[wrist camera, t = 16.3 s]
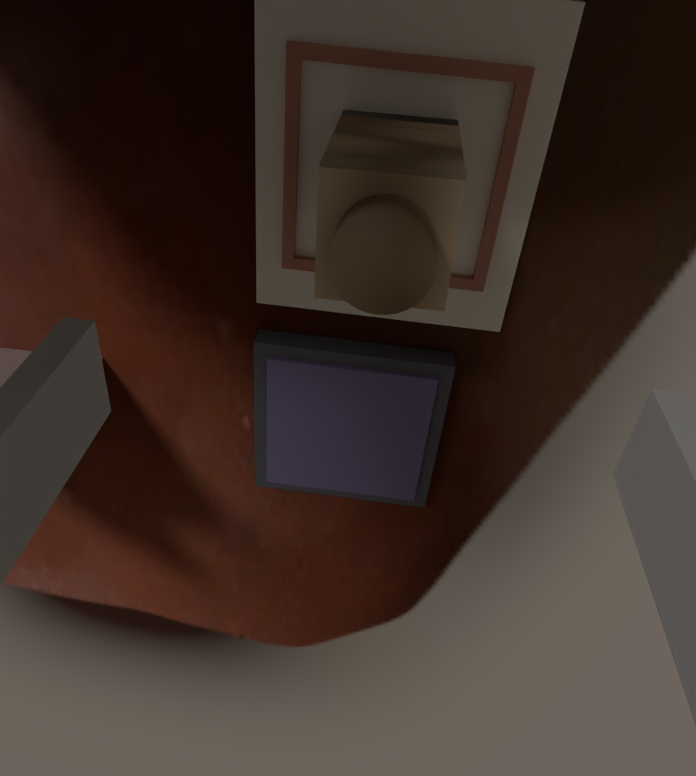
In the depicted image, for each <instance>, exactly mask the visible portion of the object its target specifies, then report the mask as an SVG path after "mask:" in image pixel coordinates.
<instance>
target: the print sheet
mask: <svg viewBox="0 0 696 776" xmlns="http://www.w3.org/2000/svg"><path fill="white" fill-rule="evenodd" d="M585 3H586V2H584V1H579V0H254V12H255V161H256V303H263V304H271V305H279V306H288V307H296V308H304V309H313V310H321V311H329V312H338V313H346V314H354V315H363V316H371V317H379V318H387V319H396V320H404V321H412V322H421V323H429V324H437V325H446V326H454V327H462V328H470V329H479V330H487V331H495V332H500V330H501V326H502V322H503V318H504V314H505V310H506V306H507V303H508V299H509V295H510V291H511V287H512V283H513V280H514V276H515V272H516V268H517V264H518V260H519V256H520V253H521V249H522V245H523V241H524V237H525V233H526V230H527V226H528V222H529V218H530V214H531V210H532V206H533V203H534V199H535V195H536V191H537V187H538V183H539V180H540V176H541V172H542V168H543V164H544V160H545V156H546V153H547V149H548V145H549V141H550V137H551V133H552V130H553V126H554V122H555V118H556V114H557V110H558V107H559V103H560V99H561V95H562V91H563V87H564V83H565V80H566V76H567V72H568V68H569V64H570V60H571V57H572V53H573V49H574V45H575V41H576V37H577V33H578V30H579V26H580V22H581V18H582V14H583V10H584V7H585ZM343 110H353V111H364V112H376V113H387V114H398V115H409V116H420V117H432V118H443V119H454V120H458V124H459V130H460V137H461V144H462V150H463V157H464V164H465V170H466V177H467V184H466V190H465V195H464V201H463V207H462V213H461V219H460V224H459V230H458V236H457V242H456V248H455V253H454V259H453V265H452V271H451V277H450V282H449V288H448V294H447V300H446V306H445V311H437V310H427V309H417V308H410V309H408V310H406V311H403V312H400V313H396V314H391V315H376V314H370V313H367V312H363V311H361V310H359V309H357V308H355V307H353V306H352V305H350V304H349V303H347V302H346V301H339V300H329V299H320V298H314V287H315V257H316V226H317V195H318V166H319V164H320V162H321V160H322V157H323V155H324V153H325V151H326V148H327V146H328V144H329V141H330V139H331V137H332V135H333V132H334V130H335V128H336V125H337V123H338V121H339V119H340V116H341V114H342V112H343Z"/></svg>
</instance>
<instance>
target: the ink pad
mask: <svg viewBox="0 0 696 776" xmlns="http://www.w3.org/2000/svg"><path fill="white" fill-rule="evenodd" d="M455 368H456V364H455V353H453V352H444V351H436V350H428V349H420V348H412V347H403V346H395V345H387V344H379V343H371V342H362V341H354V340H346V339H338V338H329V337H321V336H313V335H305V334H297V333H288V332H280V331H272V330H264V329H259V330H258V332H257V335H256V337H255V340H254V439H255V486H262V487H269V488H277V489H285V490H292V491H300V492H308V493H316V494H323V495H331V496H339V497H346V498H354V499H362V500H369V501H377V502H385V503H393V504H400V505H408V506H416V507H423V508H425V504H426V500H427V495H428V491H429V486H430V482H431V477H432V472H433V468H434V463H435V459H436V454H437V450H438V445H439V441H440V436H441V432H442V427H443V422H444V418H445V413H446V409H447V404H448V400H449V395H450V391H451V386H452V382H453V377H454V373H455Z"/></svg>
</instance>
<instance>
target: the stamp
mask: <svg viewBox="0 0 696 776" xmlns="http://www.w3.org/2000/svg"><path fill="white" fill-rule="evenodd" d="M466 184H467V177H466V170H465V164H464V157H463V150H462V144H461V137H460V130H459V124H458V120H454V119H443V118H432V117H420V116H409V115H398V114H387V113H376V112H364V111H353V110H343V112H342V114H341V116H340V119H339V121H338V123H337V125H336V128H335V130H334V132H333V135H332V137H331V139H330V141H329V144H328V146H327V148H326V151H325V153H324V155H323V157H322V160H321V162H320V164H319V166H318V195H317V226H316V257H315V287H314V298H320V299H329V300H339V301H346V302H347V303H349V304H350V305H352V306H353V307H355V308H357V309H359V310H361V311H363V312H367V313H370V314H376V315H391V314H396V313H400V312H403V311H406V310H408V309H410V308H417V309H427V310H437V311H445V306H446V300H447V294H448V288H449V282H450V277H451V271H452V265H453V259H454V253H455V248H456V242H457V236H458V230H459V224H460V219H461V213H462V207H463V201H464V195H465V190H466Z"/></svg>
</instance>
